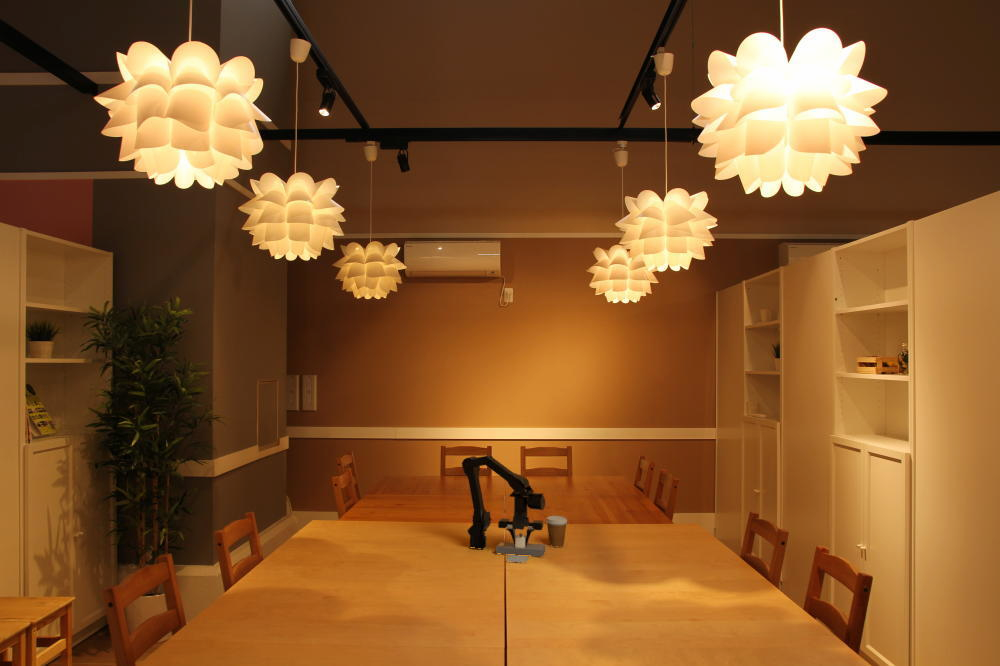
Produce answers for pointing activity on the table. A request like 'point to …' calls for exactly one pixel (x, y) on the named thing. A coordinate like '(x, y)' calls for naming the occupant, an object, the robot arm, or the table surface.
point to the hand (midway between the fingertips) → (520, 544)
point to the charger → (520, 541)
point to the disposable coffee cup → (556, 530)
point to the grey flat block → (520, 549)
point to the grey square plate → (517, 558)
